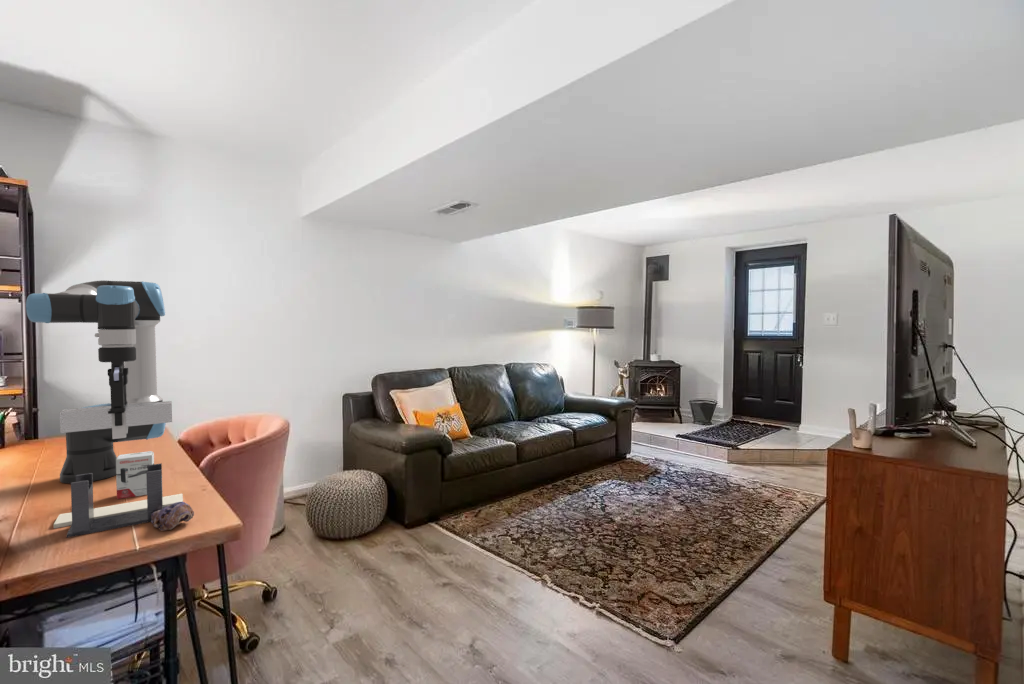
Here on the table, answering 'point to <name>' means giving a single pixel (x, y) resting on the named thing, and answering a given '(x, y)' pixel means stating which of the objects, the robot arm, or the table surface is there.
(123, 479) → the ink box
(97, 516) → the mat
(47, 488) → the table surface
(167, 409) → the whetstone
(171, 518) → the purple rock
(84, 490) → the stand
